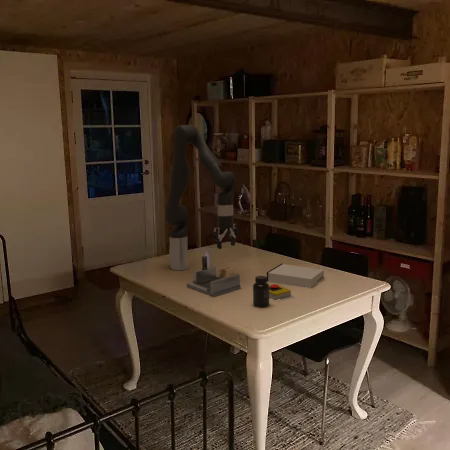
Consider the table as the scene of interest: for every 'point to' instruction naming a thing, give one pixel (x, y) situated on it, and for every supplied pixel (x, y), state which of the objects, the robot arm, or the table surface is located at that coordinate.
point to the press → (217, 285)
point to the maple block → (226, 272)
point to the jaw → (204, 272)
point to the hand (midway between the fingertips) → (226, 247)
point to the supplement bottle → (261, 292)
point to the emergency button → (279, 292)
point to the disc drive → (295, 275)
